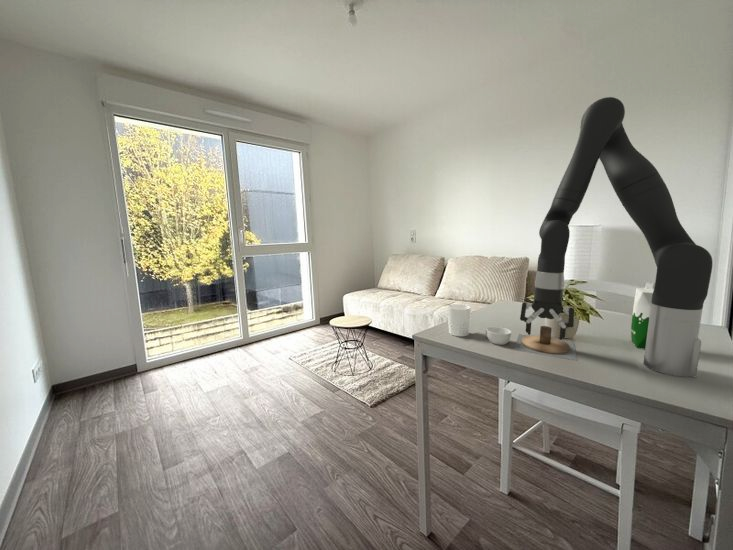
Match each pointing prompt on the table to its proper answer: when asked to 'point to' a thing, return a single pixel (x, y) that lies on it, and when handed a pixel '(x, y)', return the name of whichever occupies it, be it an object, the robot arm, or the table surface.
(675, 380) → the table surface
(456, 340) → the table surface
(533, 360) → the table surface
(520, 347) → the mat
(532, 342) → the lid
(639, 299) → the milk carton
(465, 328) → the white cup
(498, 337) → the white bowl
